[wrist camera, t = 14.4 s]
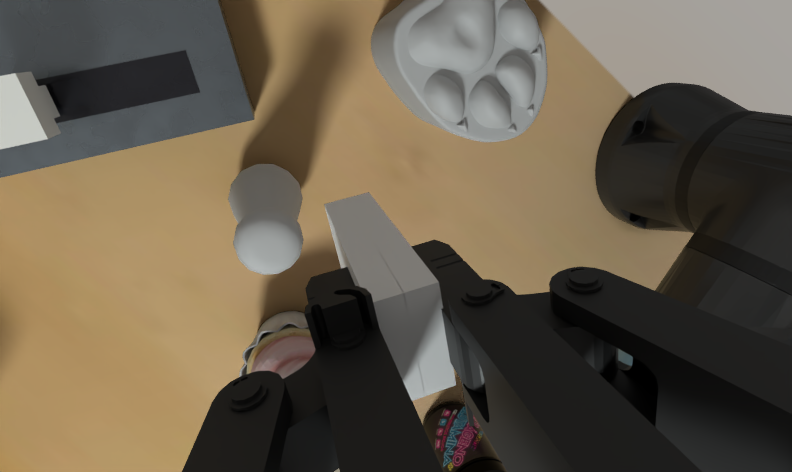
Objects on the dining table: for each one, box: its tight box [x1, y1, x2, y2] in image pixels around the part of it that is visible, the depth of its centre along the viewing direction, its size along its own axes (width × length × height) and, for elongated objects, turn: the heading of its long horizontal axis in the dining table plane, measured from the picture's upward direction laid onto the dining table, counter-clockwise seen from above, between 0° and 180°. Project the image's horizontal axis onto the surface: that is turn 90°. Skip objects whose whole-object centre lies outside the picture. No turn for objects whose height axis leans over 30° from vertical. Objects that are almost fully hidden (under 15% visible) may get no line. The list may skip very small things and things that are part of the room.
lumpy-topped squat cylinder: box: [371, 0, 547, 142], centre depth 37 cm, size 10×13×9 cm
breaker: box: [0, 72, 61, 149], centre depth 28 cm, size 4×4×5 cm
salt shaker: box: [228, 164, 303, 275], centre depth 35 cm, size 6×6×13 cm
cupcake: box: [240, 311, 315, 379], centre depth 42 cm, size 9×9×10 cm
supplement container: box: [423, 402, 507, 472], centre depth 52 cm, size 7×7×10 cm
